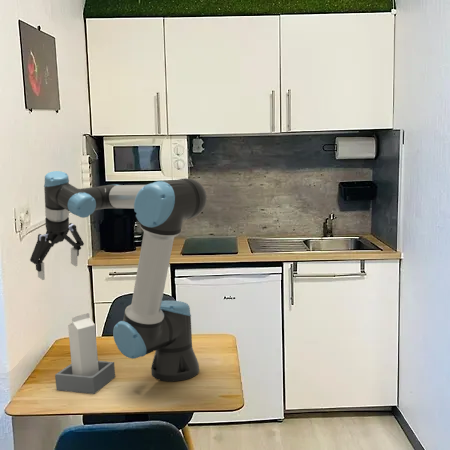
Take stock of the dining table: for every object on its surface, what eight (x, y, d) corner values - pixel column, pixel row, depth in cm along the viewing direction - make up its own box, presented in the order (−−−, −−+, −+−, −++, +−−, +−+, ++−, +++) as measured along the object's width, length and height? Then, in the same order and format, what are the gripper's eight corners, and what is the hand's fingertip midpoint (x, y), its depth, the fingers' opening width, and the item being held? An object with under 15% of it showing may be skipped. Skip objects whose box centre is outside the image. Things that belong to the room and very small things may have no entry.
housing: (115, 377, 197) (114, 362, 196) (94, 394, 185) (92, 378, 184) (79, 373, 201) (78, 359, 200) (56, 390, 189) (55, 374, 188)
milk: (99, 383, 193) (94, 314, 189) (82, 389, 189) (77, 319, 185) (89, 378, 197) (84, 310, 194) (72, 383, 193) (67, 315, 190)
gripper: (80, 202, 216) (80, 255, 226) (17, 223, 199) (20, 279, 209) (94, 210, 212) (93, 263, 222) (31, 232, 195) (33, 288, 205)
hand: (58, 271), depth 215 cm, fingers open, 13 cm apart
